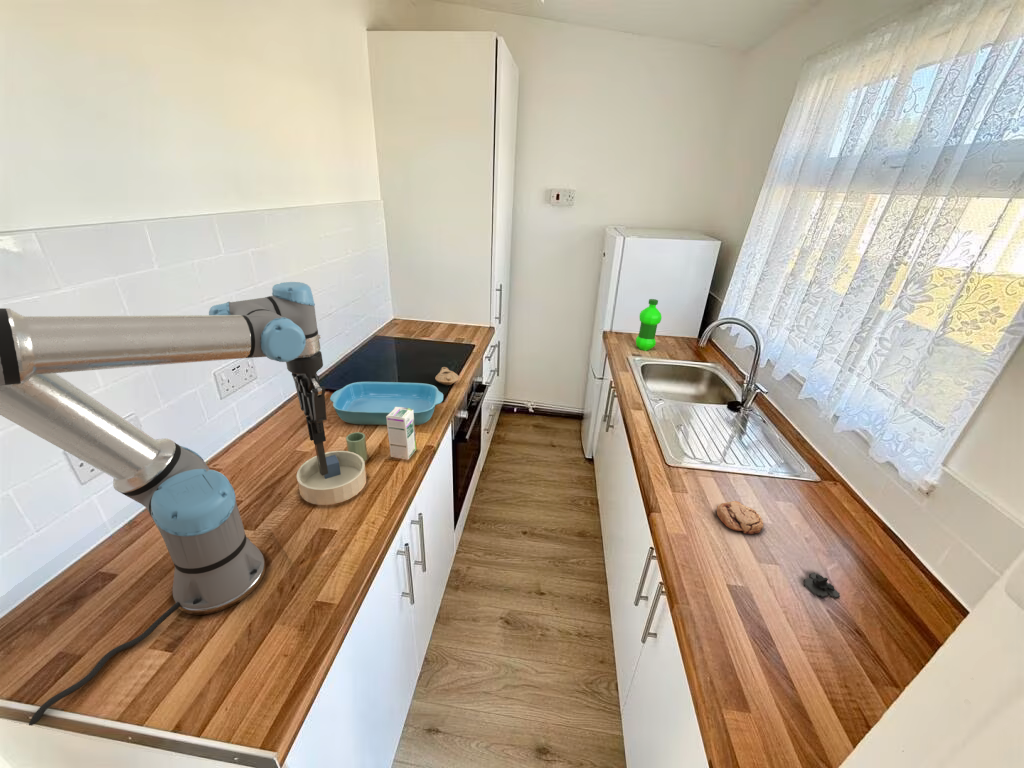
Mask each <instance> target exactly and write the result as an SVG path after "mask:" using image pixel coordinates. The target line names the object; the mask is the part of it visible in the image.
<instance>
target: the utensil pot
mask: <svg viewBox="0 0 1024 768" xmlns="http://www.w3.org/2000/svg"><path fill="white" fill-rule="evenodd" d="M345 439H346V447H347V451H349V452H354V453H356V454H358V455H359V456H361V457H362V458H363V460H364V462H366V461H367V460H368V449H367V440H366V434H365V433H364V432H361V431H355V432H351V433H349V434H347V435H346V437H345Z"/></svg>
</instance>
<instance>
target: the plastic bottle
mask: <svg viewBox="0 0 1024 768" xmlns="http://www.w3.org/2000/svg"><path fill="white" fill-rule="evenodd" d="M658 304H659V300H658V299H654V298H650V299H648V306H647V307H645V308H644V309H642V310H641V311H640V312H639V321H640V325H639V330H638V331H639V332H638V335H637V336H636V338H635V345H636V347H637V348H638V349H639V350H641V351H650V350H652V349H653V348H655V346H656V342H657V341H656V333H657V328H658V325H659V324H660V323H661V321H662V317H663V316H662V313H661V312H660V310H659V309H658V308H657V305H658Z"/></svg>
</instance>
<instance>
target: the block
mask: <svg viewBox="0 0 1024 768" xmlns="http://www.w3.org/2000/svg"><path fill="white" fill-rule="evenodd" d="M326 463H327V469H328V474H326V475H324V477H325V479H327V478H330V477H334V476H337V475H340V474H341V472H340V466H339V461H338V459H337V457H336V455H332V456H329V457H326Z"/></svg>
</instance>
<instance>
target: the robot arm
mask: <svg viewBox="0 0 1024 768" xmlns="http://www.w3.org/2000/svg"><path fill="white" fill-rule="evenodd" d="M271 289H272V292H271V295H269V296H265V297H259V298H250V299H244V300H237V301H231V302H230V301H227V302H224V303H219V304H215V305H212V306H210V308H209V310H208V314H194V315H193V314H192V315H191V314H190V315H188V314H187V315H186V314H185V315H184V314H183V315H179V314H178V315H51V316H50V315H46V316H43V315H39V316H38V315H37V316H31V315H30V316H29V315H28V316H27V315H22V314H20V313H18V312H16V311H14V309H11V308H5V307H3V308H2V307H1V308H0V416H1V417H3V418H5V419H7V420H8V421H10V422H12V423H14V424H16V425H17V426H19V427H21V428H23V429H25V430H26V431H28V432H30V433H32V434H34V435H36V436H37V437H39V438H41V439H43V440H45V441H46V442H49V443H50V444H51V445H53V446H55V447H57V448H59V449H60V450H63V451H64V452H66V453H68V454H70V455H72V456H73V457H75V458H76V459H78V460H80V461H82V462H84V463H86V464H88V465H90V466H91V467H93V468H95V469H97V470H99V471H100V472H102V473H104V474H106V475H108V476H109V477H112V478H113V480H112V481H113V482H112V486H113V489H114V490H115V491H116V492H118V493H120V494H122V495H124V496H125V497H128V498H130V499H131V500H133V501H135V502H137V503H139V504H140V505H142V506H143V507H145V508H146V510H147V512H148V514H149V516H150V517H151V519H152V520H153V522H154V524H155V526H156V528H157V529H158V531H159V534H160V535H161V537H162V539H163V541H164V544H165V546H166V549H167V551H168V553H169V556H170V558H171V561H172V564H173V566H174V572H173V580H172V598H173V600H174V602H175V603H174V604H173V605H172V606H171V607H170V608H168V609H167V610H166V611H165V612H164V613H163V614H161V616H159V617H158V618H157V619H156V620H155V621H154V622H153V623H152V624H151V625H150V626H149V627H148V628H147V629H146V630H144V631H143V633H141V634H139V635H138V636H137V637H135V638H134V639H132V640H130V641H127V642H125V643H122V644H120V645H117V646H116V647H113V649H111V650H110V651H108V652H107V653H106V654H105V655H103V656H102V657H101V658H100V659H99V661H98V662H97V663H96V664H95V665H94V667H93V668H92V669H91V671H90V672H89V673H88V674H86V675H85V676H84V677H83V678H82V679H80V680H79V681H77V682H76V683H74V684H72V685H71V686H69V687H67V688H65V689H64V690H62V691H60V692H58V693H57V694H55V695H54V696H52V697H51V698H49V699H48V700H46V701H45V702H44V703H43V704H42V705H41V706H40V707H39V708H38V709H37V710H36V711H35V713H34V714H33V716H32V717H31V718H30V721H29V723H28V726H33V725H35V724H37V722H38V721H39V720H40V719H41V717H43V715H44V713H45V712H46V711H47V710H48V709H49V708H50V707H52V706H53V705H54V704H56V703H58V702H59V701H60V700H62V699H64V698H65V697H67V696H70V695H71V694H72V693H74V692H76V691H77V690H79V689H81V688H82V687H84V686H85V685H87V683H90V681H91V680H92V679H94V678H95V677H96V676H97V675H98V673H99V672H100V671H101V670H102V668H103V667H104V666H105V665H106V663H107V662H108V661H109V660H110V659H112V657H114V656H115V655H118V653H120V652H122V651H123V652H124V651H125V650H128V649H129V648H132V647H134V646H136V645H137V644H139V643H141V642H142V641H144V640H145V639H147V638H148V637H149V636H150V635H151V634H152V633H153V632H154V631H155V630H156V629H157V628H158V627H159V626H160V625H161V624H162V623H163V622H164V621H166V620H167V619H168V618H169V617H170V616H171V615H173V613H174V612H175V611H177V610H178V609H179V610H180V611H181V612H183V613H185V614H187V615H194V616H203V615H205V616H206V615H209V614H214V613H218V612H221V611H224V610H226V609H229V608H231V607H232V606H234V605H236V604H238V603H240V602H241V601H243V600H244V599H245V598H247V597H248V596H250V595H251V594H252V593H253V592H254V591H255V590H256V589H257V587H258V586H259V585H260V584H261V582H262V580H263V578H264V576H265V574H266V567H267V565H266V561H265V557H264V555H263V552H262V551H261V550H260V548H258V547H257V546H256V545H255V544H254V543H253V542H252V541H251V539H249V537H248V536H247V534H246V531H245V527H244V524H243V521H242V517H241V513H240V510H239V506H238V503H237V500H236V492H235V488H234V487H233V485H232V484H231V482H230V480H229V479H228V478H227V476H226V475H224V474H223V473H222V472H220V471H218V470H214V469H211V468H210V467H209V466H208V465H207V463H206V462H205V460H204V459H203V458H202V456H201V455H200V454H199V453H197V452H196V451H194V450H193V449H190V448H188V447H186V446H182V445H179V444H178V443H176V442H175V441H173V440H172V439H170V438H158V439H157V438H156V439H155V438H153V437H152V436H151V435H149V434H147V433H146V432H144V431H143V430H141V429H140V428H139V427H137V426H136V425H134V424H133V423H131V422H130V421H128V420H127V419H126V418H123V417H122V416H121V415H119V414H117V413H116V412H114V411H113V410H112V409H110V408H109V407H108V406H105V405H104V404H103V403H101V402H100V401H98V400H97V399H95V398H94V397H92V396H91V395H89V394H88V393H86V392H85V391H84V390H82V389H80V388H79V387H77V386H76V385H75V384H73V383H71V382H70V381H68V380H67V379H65V378H64V377H63V376H61V375H59V374H61V373H62V374H63V373H74V372H88V371H99V370H112V369H125V368H139V367H151V366H162V365H176V364H177V365H178V364H189V363H203V362H214V361H227V360H228V361H229V360H240V359H252V358H253V359H254V358H255V359H256V358H267V359H269V360H271V361H276V362H279V363H285V365H286V369H287V371H288V372H290V373H291V376H292V378H293V381H294V385H295V389H296V393H297V399H298V403H299V407H300V410H301V411H303V414H304V416H305V420H306V424H307V425H306V426H307V431H308V437H309V441H311V442H313V444H314V446H315V445H316V444H319V443H322V442H323V443H324V442H326V441H327V438H326V433H325V426H324V421H326V420H327V407H326V395H325V394H326V387H325V386H320V382H321V381H320V376H319V375H318V374H317V373H318V372H319V371H320V370H321V369H322V368H323V367H324V361H323V355H322V352H321V342H320V340H321V338H322V336H321V335H320V334H319V329H318V323H317V315H316V307H315V305H316V303H315V299H314V295H313V292H312V288H311V287H310V285H308V284H307V283H305V282H300V281H286V282H280V283H276V284H274V285H273V286H272V288H271ZM309 413H310V415H311V420H310V416H309Z"/></svg>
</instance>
